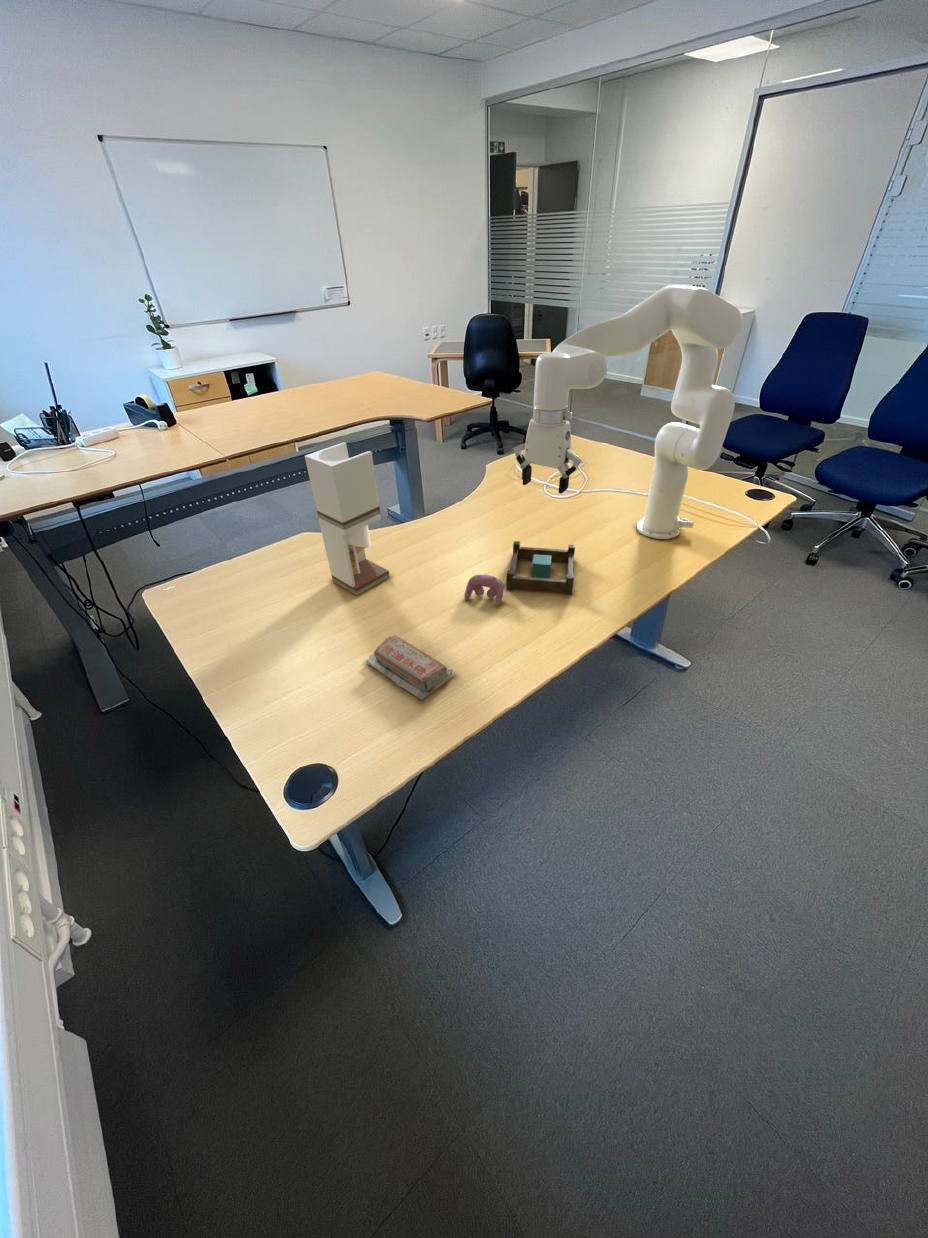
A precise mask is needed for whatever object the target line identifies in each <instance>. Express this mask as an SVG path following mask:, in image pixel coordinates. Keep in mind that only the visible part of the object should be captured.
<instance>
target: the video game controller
mask: <svg viewBox="0 0 928 1238" xmlns="http://www.w3.org/2000/svg"><path fill="white" fill-rule="evenodd" d="M485 588H489V589H487V591H486V597H488V598H489V599H494V598H495V605H496V606H497V607H498V606H500V605H501V603H502V601H503V596H504V590H505V588H506V584H505V582H504V581H503V580H501V579H499V578H497V577H496V576H493V575H489V574H474V575H473V576H471V577H470V578H469V579H468V581H467V583H466V587H465V590H464V600H465V601H468V600H469V599H470V597H471V596H472V594H473V592H474V594H475V595H476V596H477V597H481V596H483V595H484V594H485Z"/></svg>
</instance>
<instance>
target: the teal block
mask: <svg viewBox="0 0 928 1238" xmlns="http://www.w3.org/2000/svg"><path fill="white" fill-rule="evenodd" d="M551 557H552V556H551V555H536V554H534V556H533V560H532V562H531V577H534V578H547V579H551V567H552V562H551Z"/></svg>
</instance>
